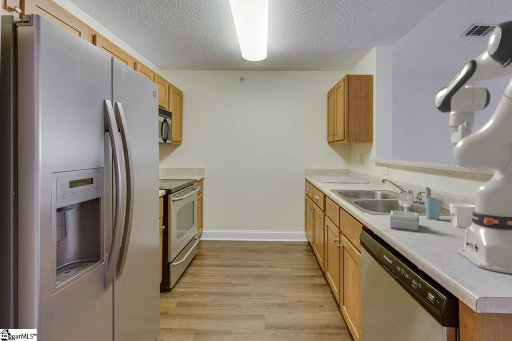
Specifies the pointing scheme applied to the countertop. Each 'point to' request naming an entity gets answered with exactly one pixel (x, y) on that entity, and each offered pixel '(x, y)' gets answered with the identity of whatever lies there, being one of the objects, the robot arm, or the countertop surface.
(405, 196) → the wineglass
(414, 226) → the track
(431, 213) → the cup
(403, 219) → the grey green box
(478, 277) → the countertop surface
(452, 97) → the robot arm
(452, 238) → the countertop surface
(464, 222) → the cup
